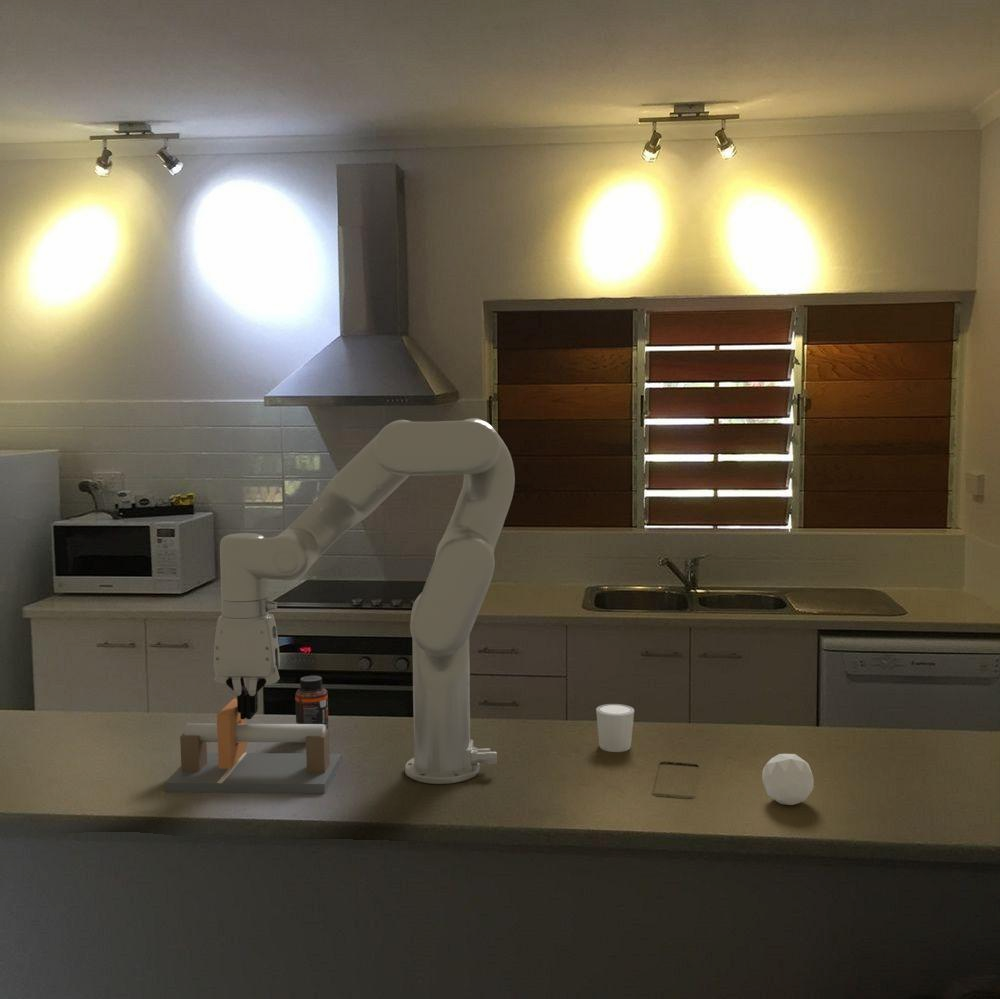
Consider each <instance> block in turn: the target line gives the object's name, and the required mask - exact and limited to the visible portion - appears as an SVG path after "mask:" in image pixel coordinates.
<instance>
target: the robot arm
mask: <svg viewBox="0 0 1000 999" xmlns="http://www.w3.org/2000/svg"><path fill="white" fill-rule="evenodd" d="M501 437H502V436H500V435H499V433H498V432H497V431H496V429H495V428H494V427H493V426H492V425H491V424H490V423H489V422H487V421H485V420H482V419H480V418H475V417H474V418H467V419H464V420H445V421H443V420H442V421H441V420H439V421H411V420H407V419H397V420H394V421H392V422H390V423H388V424H387V425H385V426H384V427H383V428H382V429H381V430H380V431H379V433H378V434H376V435H375V436H374V437H373V439H372V438H371V440H370V441H369V442H368V443H367V444H366V445H365V446H364V447H363V448H362V449H361V450H360V451H358V453H357V454H356V455H355V456H354V457H352V459H351V460H349V462H348V463H346V465H345V466H343V467H342V468H341V469H340V470H339V471H338V472H337V473H336V474H335V475H334V476H333V477H332V478H331V480H330V481H329V482H328V483H327V484H326V486H325V488H324V489H323V490H322V492H321V493H320V495H319V496H318V497H317V498H316V499H315V500H314V501H313V502H312V503H311V504H310V505H309V506H307V508H306V509H305V510H304V511H303V512H302V513H301V514H299V516H298V517H297V518H296V519H295V520H294V521H293V522H291V523H290V525H289V526H287V527H286V529H285V528H284V529H285V530H283V531H282V532H281V533H279V534H278V535H276V536H271V537H265V536H264V535H262V534H259V533H253V532H241V533H239V532H238V533H230V534H227V535H224V536H223V538H221V540H220V544H219V564H220V570H219V571H220V590H221V591H220V595H221V596H220V598H221V600H220V602H221V614H220V615H219V616H218V617H217V623H216V628H215V634H214V635H215V636H214V645H213V646H214V647H213V670H214V676H213V677H214V678H213V680H214V682H216V683H218V684H222V685H226V686H228V687H229V688H230V690H232V691H233V693H234V695H235V696H237V698H236V699H237V708H238V713H240V718H241V719H245V718H246V720H251V719H252V718H254V717H255V715H256V714H257V713H258V710H259V701H258V697H259V696H258V692H259V691H260V690H261V689H262V688H263V687H265V686H267V685H272V684H275V683H278V682H279V680H280V677H281V676H280V674H279V669H280V666H281V658H280V657H281V656H280V645H279V644H280V643H279V638H278V637H279V636H278V629H277V623H276V620H275V616H274V614H272V613H271V612H270V611H276V610H277V609H278V603H277V601H273V600H271V599H270V596H269V589H268V588H269V586H268V585H269V582H268V581H269V580H276V581H282V582H283V581H284V582H291V581H292V582H293V581H296V580H298V579H300V578H302V577H303V576H304V575H306V573H307V572H308V571H309V570H310V569H311V567H312V566H313V565H314V563H316V561H317V560H319V559H320V558H321V557H322V555H324V554H325V553H326V551H327V550H329V549H330V547H332V545H334V544H335V542H337V541H338V540H339V539H340V538H341V537H342V536H343V535H344V534H345V533H346V532H348V531H349V530H350V529H351V528H352V527H354V526H355V525H356V524H358V523H360V522H362V521H363V520H365V519H366V518H368V516H369V515H371V514H372V513H374V511H375V510H376V509H377V508H378V507H379V506H380V505H381V504H382V503H383V502H384V501H385V500H386V499H387V498H388V497H389V496H391V494H392V493H394V492H395V490H397V489H398V488H399V486H401V485H402V484H403V483H404V482H405V481H406V480H407V479H408V478H409V477H410V476H449V475H450V476H451V475H463V482H462V488H461V490H460V493H459V496H458V498H457V501H456V504H455V507H454V511H453V513H452V514H451V517H450V521H449V523H448V525H447V527H446V530H445V532H444V534H443V536H442V538H441V540H439V543H438V544H437V547H436V551H435V555H434V556H435V557H434V560H433V563H432V566H431V568H430V571H429V573H428V576H427V579H426V581H425V583H424V586H423V589H422V592H420V594H419V595H418V596H417V597H416V599H415V601H414V603H413V605H412V608H411V612H410V624H409V629H410V635H411V637H412V702H413V703H412V704H413V706H412V707H413V710H412V711H413V755H414V756H413V757H411V758H410V759H409V760H407V762H406V763H405V766H404V771H405V772H404V773H405V775H406V776H407V777H409V778H410V779H412V780H414V781H416V782H419V783H425V784H432V785H433V784H434V785H448V784H455V783H460V782H464V781H467V780H470V779H472V778H474V777H476V775H477V774H478V773H479V772H480V767H481V766H480V764H484V763H485V764H488V765H489V764H492V765H493V764H496V765H497V764H498V763H497V762H498V761H497V759H498V758H497V756H498V755H497V754H498V753H497V751H491V748H485V747H484V748H477V746H474V739H471V711H470V710H471V708H470V707H471V705H470V704H471V701H470V689H471V688H470V685H471V684H470V680H471V678H470V675H471V673H470V672H471V670H470V668H471V667H470V665H471V664H470V662H471V661H470V634H471V632H472V630H473V627H474V625H475V622H476V620H477V617H478V616H479V612H480V610H481V608H482V605H483V604H484V603H483V602H484V600H485V598H486V595H487V593H488V590H489V588H490V584H491V582H492V579H493V576H494V572H495V565H496V560H495V555H494V554H495V553H494V552H495V549H496V546H497V543H498V540H499V537H500V536H501V532H502V529H503V527H504V524H505V520H506V518H507V515H508V512H509V510H510V506H511V504H512V500H513V496H514V492H515V483H516V479H515V478H516V476H515V467H514V462H513V459H512V454H511V453H510V451H509V449H508V446H507V445H506V444H505V442H504V440H503V439H502V438H501ZM268 579H269V580H268ZM245 678H247V679H248V678H249V685H248V688H247V686H246V680H245Z"/></svg>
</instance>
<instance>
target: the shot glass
mask: <svg viewBox="0 0 1000 999" xmlns="http://www.w3.org/2000/svg"><path fill="white" fill-rule="evenodd" d="M595 711H596V712H595V713H596V722H597V733H598V746H599V749H601V750H602V751H606V752H609V753H610V752H611V753H612V752H613V753H623V752H627V751H628V750H630V749H631V748H632V739H633V728H634V718H635V709H634V707H632V706H629V705H626V704H619V703H607V704H602V705H599V706H597V707H596V708H595Z"/></svg>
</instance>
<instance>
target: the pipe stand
mask: <svg viewBox="0 0 1000 999" xmlns="http://www.w3.org/2000/svg"><path fill="white" fill-rule="evenodd" d="M328 729H329V728H328ZM328 729H325V725H324V724H296V723H246V724H236V725H235V742H246V743H305V752H306V753H293V752H292V753H284V752H283V753H281V752H279V753H278V752H277V753H276V752H275V753H272V752H269V753H268V752H267V753H266V752H257V753H256V752H251V753H250V752H244V753H243V755H242V756H241V757H240V758H239V759H238V761H237V762H236V763H235V764H234V765H233V767H232V768H231V769H219V761H218V752H208V750H207V743H218V734H217V723H212V722H211V723H207V722H206V723H205V722H204V723H198V722H197V723H196V722H195V723H193V722H192V723H191V722H190V723H188V722H187V723H186V724H185V727H184V732H183V733H181V735H180V736H179V740H180V741H179V742H180V766H179V767H178V768H177V769H176V770H175V772H173V774H171V775H170V776H169V778H168V779H166V781H165V782H164V792H165V793H169V792H171V793H173V792H174V793H267V794H268V793H271V794H273V793H275V794H276V793H278V794H279V793H280V794H281V793H282V794H289V793H290V794H325V793H326V791H327V790H328V788H329V786H330V784H331V783H332V781H333V778H334V777H335V775H336V773H337V772H338V770H339V768H340V766H341V764H342V763H343V762H342V753H330V729H329V730H328Z"/></svg>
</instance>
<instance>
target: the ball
mask: <svg viewBox="0 0 1000 999" xmlns="http://www.w3.org/2000/svg"><path fill="white" fill-rule="evenodd" d="M761 775H762V777H761V779H762V783H763V785H764V789H765V791H766V794H767V795H768V796H769V797H770V798H771V799H772V800H774V801H776V802H777V803H779V805H787V806H794V805H797V804H799V803H802V802H805V801H806V799H807V798H808V797H809V795H810V794H811V793H812V792H813V790H814V787H815V786H814V784H815V783H814V782H815V779H814V776H813V772H812V770H811V767H810V764H809V763H808V762H807V761H806V760H804V759H803V758H801V757H800V756H799V755H797V754H796V753H778V754H777V755H775V756H773V757H771V758H770V759H769V760H768V762H766V764H765V765H764V767H763V769H762V774H761Z"/></svg>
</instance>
